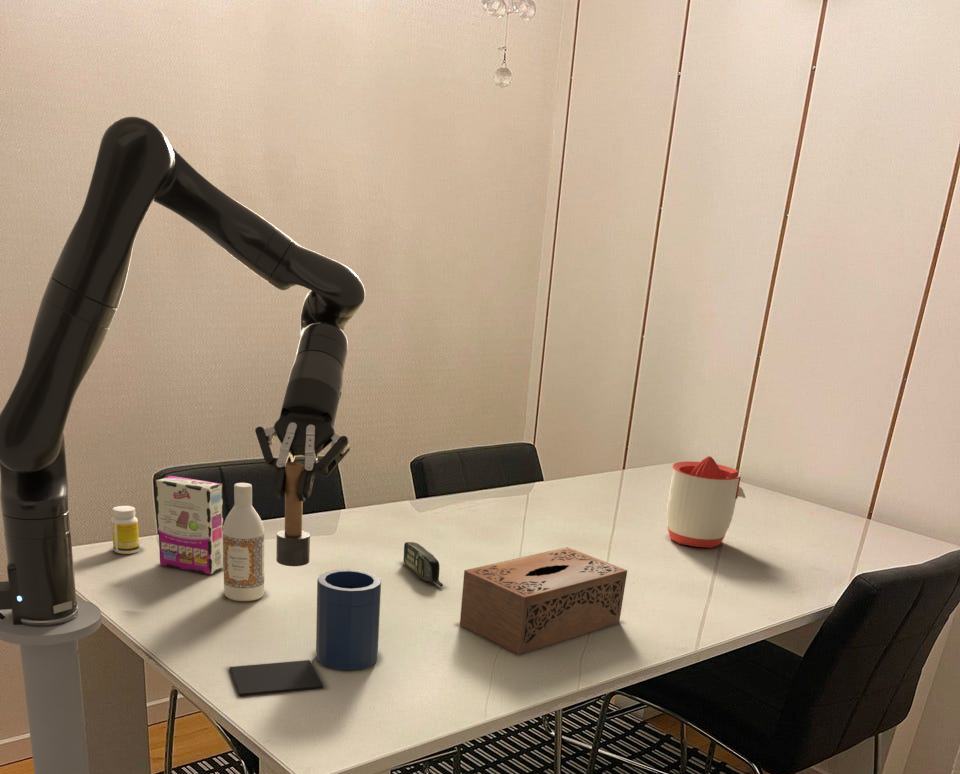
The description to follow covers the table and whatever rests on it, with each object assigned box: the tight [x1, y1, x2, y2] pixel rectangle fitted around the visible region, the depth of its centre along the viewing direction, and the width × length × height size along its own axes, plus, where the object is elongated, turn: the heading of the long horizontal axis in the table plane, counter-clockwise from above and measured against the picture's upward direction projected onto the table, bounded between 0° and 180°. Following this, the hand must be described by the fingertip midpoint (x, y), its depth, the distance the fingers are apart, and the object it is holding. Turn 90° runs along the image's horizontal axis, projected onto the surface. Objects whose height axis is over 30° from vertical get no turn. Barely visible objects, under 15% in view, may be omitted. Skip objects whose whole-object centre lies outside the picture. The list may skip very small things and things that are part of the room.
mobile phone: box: [403, 541, 444, 588], centre depth 188 cm, size 5×3×15 cm
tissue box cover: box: [459, 546, 628, 655], centre depth 169 cm, size 26×14×10 cm, turn 133°
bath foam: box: [222, 482, 265, 602], centre depth 167 cm, size 7×7×20 cm
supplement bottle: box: [111, 505, 140, 555], centre depth 186 cm, size 5×5×8 cm
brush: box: [275, 461, 311, 567], centre depth 135 cm, size 5×5×14 cm
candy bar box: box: [155, 475, 224, 576], centre depth 179 cm, size 11×5×16 cm, turn 73°
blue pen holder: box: [315, 568, 382, 672], centre depth 148 cm, size 9×9×13 cm
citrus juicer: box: [666, 456, 747, 549], centre depth 222 cm, size 16×17×20 cm
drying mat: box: [229, 659, 324, 697], centre depth 142 cm, size 12×9×1 cm
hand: (290, 496), depth 132 cm, fingers closed on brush, 2 cm apart
